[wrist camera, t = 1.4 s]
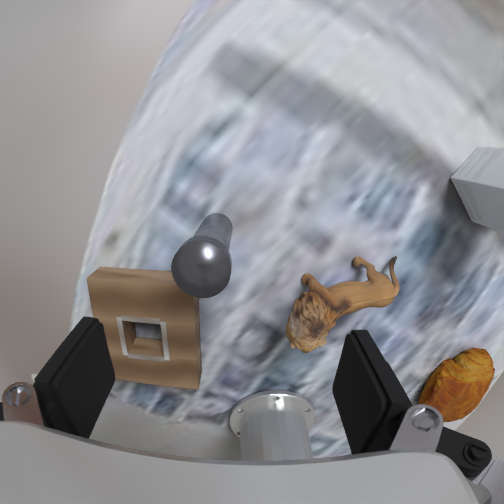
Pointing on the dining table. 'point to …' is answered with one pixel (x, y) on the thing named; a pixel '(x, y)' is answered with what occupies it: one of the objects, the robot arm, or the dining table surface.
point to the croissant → (459, 384)
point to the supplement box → (483, 187)
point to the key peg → (205, 259)
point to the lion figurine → (336, 304)
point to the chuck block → (148, 311)
